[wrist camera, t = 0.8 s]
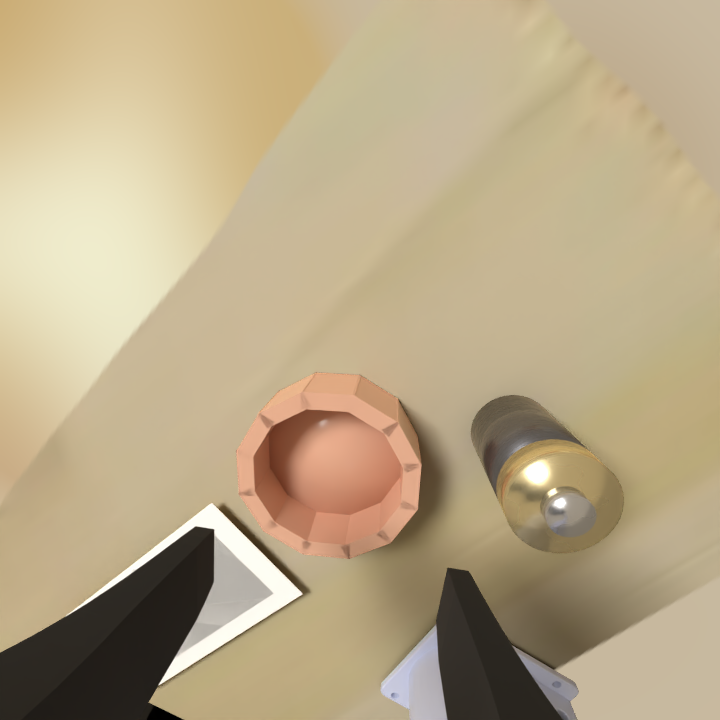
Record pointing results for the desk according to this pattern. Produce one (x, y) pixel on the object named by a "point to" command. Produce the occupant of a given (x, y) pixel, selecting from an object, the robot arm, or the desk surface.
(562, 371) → the desk surface
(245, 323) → the desk surface
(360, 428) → the peach round shallow bowl
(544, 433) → the battery
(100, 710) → the robot arm
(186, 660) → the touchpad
